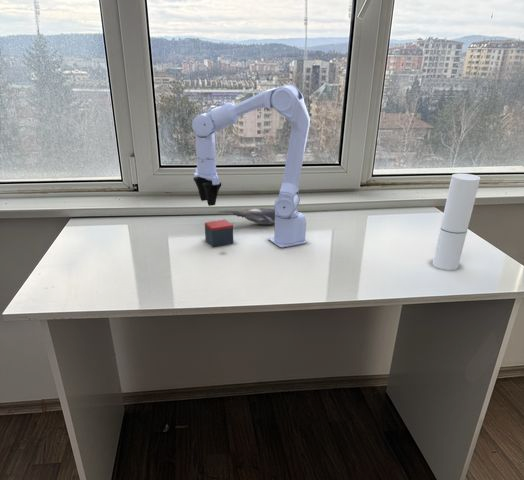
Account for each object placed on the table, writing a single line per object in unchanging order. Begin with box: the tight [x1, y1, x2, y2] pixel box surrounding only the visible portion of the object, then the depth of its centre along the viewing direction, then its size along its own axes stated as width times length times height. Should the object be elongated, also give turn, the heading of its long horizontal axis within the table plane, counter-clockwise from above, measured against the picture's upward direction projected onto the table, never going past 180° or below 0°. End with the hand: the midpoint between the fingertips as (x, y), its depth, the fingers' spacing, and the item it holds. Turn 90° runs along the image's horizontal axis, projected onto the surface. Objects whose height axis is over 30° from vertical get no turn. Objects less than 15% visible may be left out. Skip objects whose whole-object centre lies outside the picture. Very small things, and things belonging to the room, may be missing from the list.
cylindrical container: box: [432, 172, 481, 271], centre depth 137 cm, size 7×7×25 cm
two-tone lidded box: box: [204, 219, 234, 248], centre depth 154 cm, size 7×6×6 cm
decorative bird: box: [217, 207, 275, 225], centre depth 170 cm, size 6×25×5 cm, turn 99°
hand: (208, 202), depth 156 cm, fingers open, 5 cm apart
